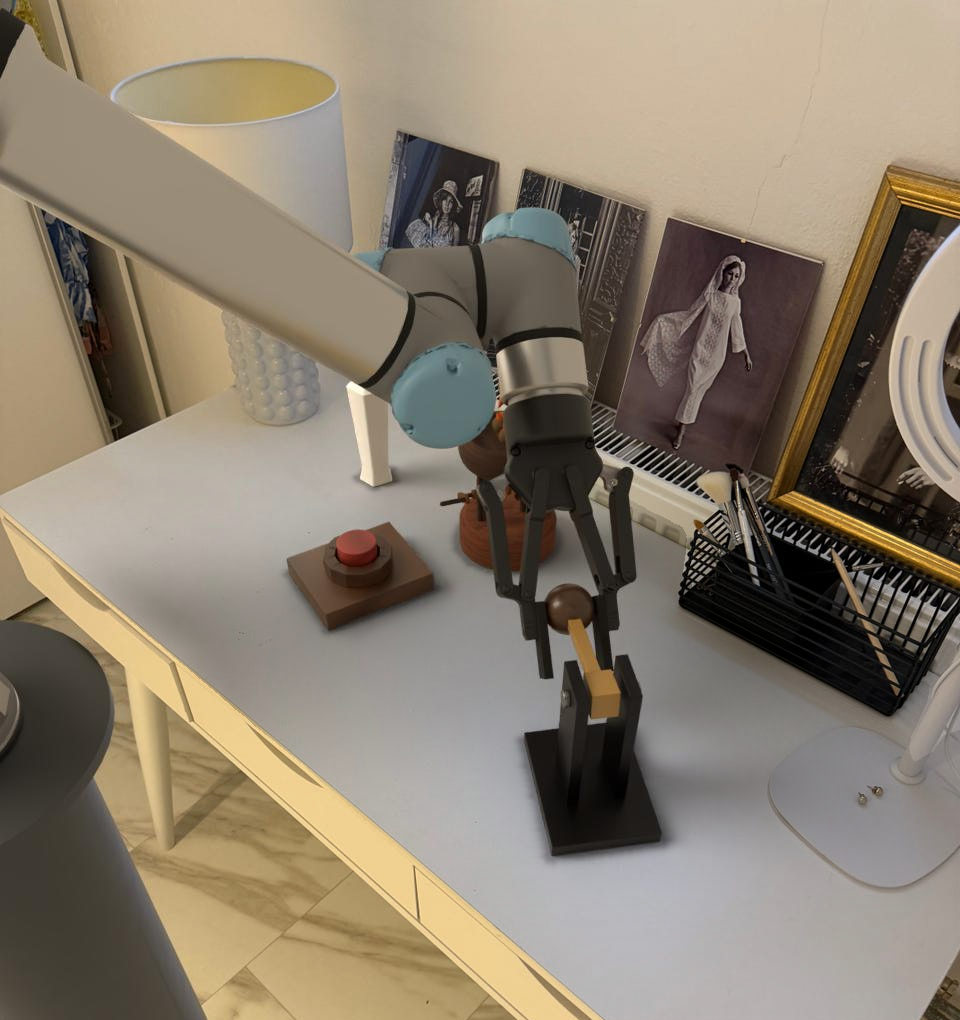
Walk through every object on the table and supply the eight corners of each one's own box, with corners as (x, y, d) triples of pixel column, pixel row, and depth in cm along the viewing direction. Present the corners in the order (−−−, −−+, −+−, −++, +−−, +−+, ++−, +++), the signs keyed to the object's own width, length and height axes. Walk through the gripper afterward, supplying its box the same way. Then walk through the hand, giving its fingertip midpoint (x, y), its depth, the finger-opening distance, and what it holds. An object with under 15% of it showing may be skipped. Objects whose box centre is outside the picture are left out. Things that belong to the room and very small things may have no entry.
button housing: (328, 630, 96) (323, 601, 93) (288, 574, 102) (283, 544, 99) (434, 589, 100) (432, 559, 97) (390, 537, 106) (387, 507, 103)
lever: (537, 617, 85) (538, 576, 82) (586, 611, 85) (589, 570, 82) (575, 731, 73) (578, 687, 71) (631, 724, 74) (636, 681, 71)
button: (348, 572, 96) (346, 559, 95) (331, 550, 99) (329, 537, 97) (384, 559, 98) (382, 545, 96) (366, 538, 100) (365, 524, 99)
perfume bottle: (405, 475, 114) (396, 360, 103) (377, 491, 112) (366, 375, 101) (379, 460, 116) (368, 345, 106) (351, 476, 114) (337, 360, 104)
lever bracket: (523, 740, 86) (528, 629, 76) (622, 728, 86) (639, 617, 77) (551, 856, 77) (561, 747, 67) (660, 841, 78) (685, 732, 68)
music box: (534, 493, 111) (553, 340, 96) (584, 554, 105) (612, 401, 90) (415, 531, 106) (414, 375, 91) (459, 597, 100) (467, 442, 85)
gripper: (633, 404, 87) (662, 662, 87) (440, 421, 85) (470, 685, 85) (657, 381, 79) (689, 663, 79) (446, 399, 77) (479, 688, 77)
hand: (576, 674), depth 82 cm, fingers closed on lever, 4 cm apart
